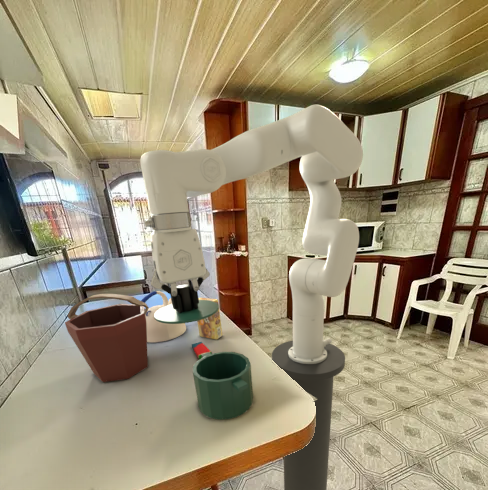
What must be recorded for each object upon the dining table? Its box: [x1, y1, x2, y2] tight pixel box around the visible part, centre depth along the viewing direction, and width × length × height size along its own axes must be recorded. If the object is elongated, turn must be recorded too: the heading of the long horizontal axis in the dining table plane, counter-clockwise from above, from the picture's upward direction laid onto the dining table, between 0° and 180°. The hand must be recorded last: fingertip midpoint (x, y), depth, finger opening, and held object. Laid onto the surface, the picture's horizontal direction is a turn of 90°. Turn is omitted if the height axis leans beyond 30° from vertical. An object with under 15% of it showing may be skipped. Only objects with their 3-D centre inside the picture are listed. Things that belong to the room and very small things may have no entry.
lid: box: [154, 284, 220, 324], centre depth 60 cm, size 15×15×7 cm
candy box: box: [196, 297, 223, 340], centre depth 104 cm, size 9×4×15 cm, turn 60°
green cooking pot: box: [192, 351, 254, 421], centre depth 66 cm, size 14×19×10 cm
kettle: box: [140, 290, 187, 344], centre depth 111 cm, size 20×21×18 cm
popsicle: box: [191, 341, 212, 360], centre depth 92 cm, size 5×2×15 cm
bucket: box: [64, 293, 150, 383], centre depth 83 cm, size 24×22×25 cm
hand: (186, 308), depth 61 cm, fingers closed on lid, 3 cm apart
